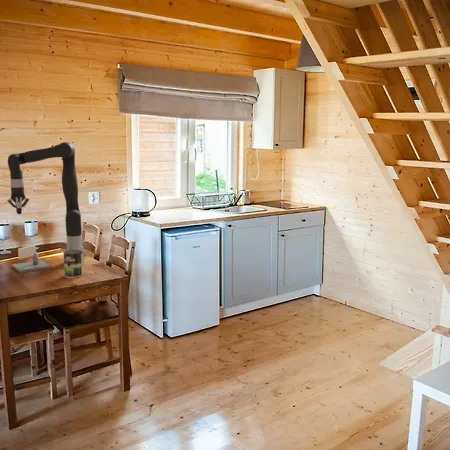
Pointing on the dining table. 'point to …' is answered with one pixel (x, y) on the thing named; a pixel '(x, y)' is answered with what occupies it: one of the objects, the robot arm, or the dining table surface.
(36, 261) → the lever handle
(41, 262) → the board
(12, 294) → the dining table surface
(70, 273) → the coffee can
